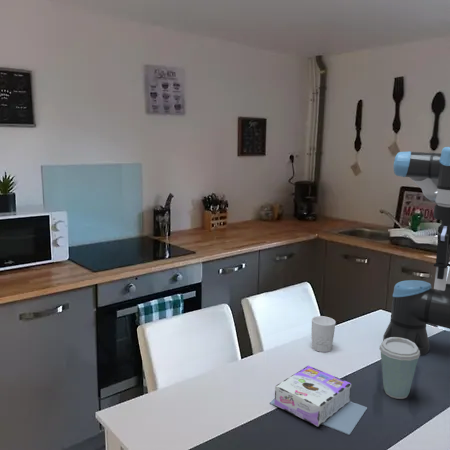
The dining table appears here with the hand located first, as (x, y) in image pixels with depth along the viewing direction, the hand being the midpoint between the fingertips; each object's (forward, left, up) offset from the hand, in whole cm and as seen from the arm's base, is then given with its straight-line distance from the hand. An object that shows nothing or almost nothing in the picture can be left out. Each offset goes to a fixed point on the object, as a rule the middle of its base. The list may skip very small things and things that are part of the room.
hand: (439, 289), depth 127 cm
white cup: (-6, -35, -31) cm, 47 cm away
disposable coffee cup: (+8, -7, -31) cm, 32 cm away
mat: (+28, -22, -30) cm, 47 cm away
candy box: (+20, -22, -27) cm, 40 cm away
